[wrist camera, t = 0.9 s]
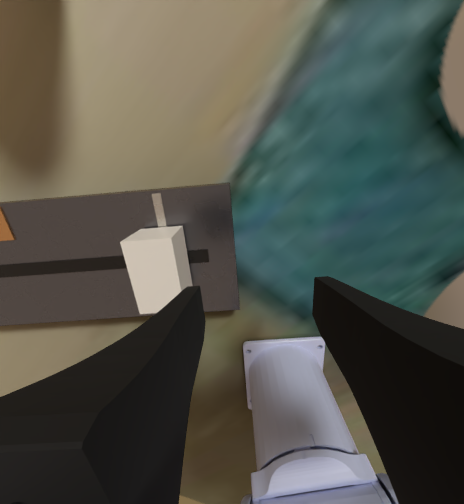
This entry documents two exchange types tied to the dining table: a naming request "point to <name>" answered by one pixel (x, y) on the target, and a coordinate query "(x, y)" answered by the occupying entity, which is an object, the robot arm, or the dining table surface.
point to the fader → (156, 266)
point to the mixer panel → (108, 251)
